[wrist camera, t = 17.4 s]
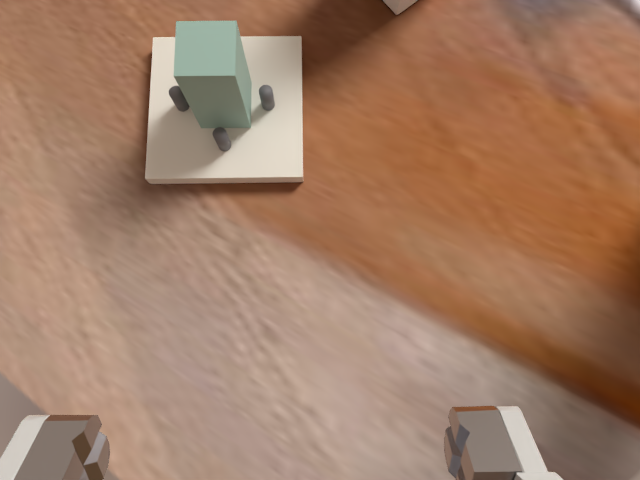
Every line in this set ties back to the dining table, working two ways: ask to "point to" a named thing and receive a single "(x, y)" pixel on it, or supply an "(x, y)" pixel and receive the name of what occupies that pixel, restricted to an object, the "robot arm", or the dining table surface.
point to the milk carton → (399, 5)
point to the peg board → (229, 143)
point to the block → (213, 73)
